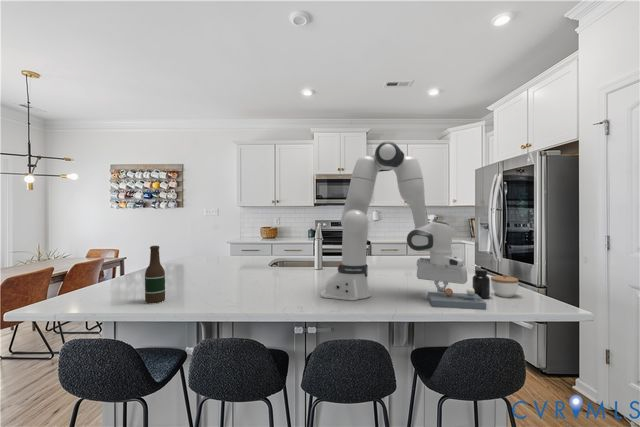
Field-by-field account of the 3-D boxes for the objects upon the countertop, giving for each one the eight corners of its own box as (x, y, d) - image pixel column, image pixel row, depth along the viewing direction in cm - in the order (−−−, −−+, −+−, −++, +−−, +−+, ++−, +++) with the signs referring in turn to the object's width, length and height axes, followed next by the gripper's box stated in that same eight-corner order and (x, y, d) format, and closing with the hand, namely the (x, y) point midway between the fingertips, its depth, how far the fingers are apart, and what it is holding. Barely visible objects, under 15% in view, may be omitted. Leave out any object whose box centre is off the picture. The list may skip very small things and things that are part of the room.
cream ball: (467, 295, 135) (467, 288, 135) (465, 293, 138) (465, 286, 138) (475, 296, 134) (475, 288, 134) (473, 294, 137) (473, 286, 137)
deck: (431, 306, 128) (431, 300, 128) (427, 297, 142) (427, 291, 142) (486, 309, 124) (486, 302, 124) (476, 299, 138) (476, 293, 138)
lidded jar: (492, 297, 142) (492, 276, 142) (489, 291, 152) (489, 271, 152) (520, 299, 138) (520, 277, 138) (516, 293, 148) (516, 273, 148)
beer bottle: (169, 300, 141) (168, 245, 141) (153, 305, 134) (152, 247, 134) (156, 298, 144) (156, 244, 144) (140, 302, 137) (140, 246, 137)
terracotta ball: (447, 288, 133) (451, 296, 132) (451, 286, 135) (455, 293, 134) (441, 290, 136) (445, 298, 135) (446, 288, 137) (450, 295, 136)
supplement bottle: (492, 299, 138) (491, 271, 138) (474, 298, 139) (474, 271, 139) (487, 295, 145) (486, 268, 145) (470, 294, 146) (470, 268, 146)
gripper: (414, 258, 140) (414, 290, 140) (464, 262, 128) (464, 296, 128) (419, 256, 145) (419, 287, 145) (468, 260, 133) (468, 293, 133)
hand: (441, 291), depth 137 cm, fingers closed
